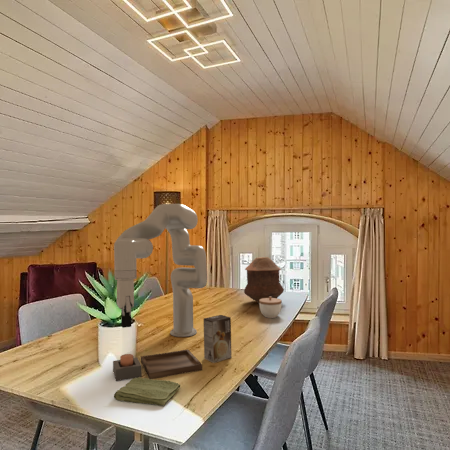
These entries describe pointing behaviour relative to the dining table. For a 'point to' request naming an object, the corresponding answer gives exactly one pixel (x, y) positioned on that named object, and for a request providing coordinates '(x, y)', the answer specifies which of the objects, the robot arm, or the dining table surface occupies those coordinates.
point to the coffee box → (217, 338)
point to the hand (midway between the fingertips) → (126, 326)
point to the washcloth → (147, 391)
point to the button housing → (127, 370)
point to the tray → (170, 364)
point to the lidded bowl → (270, 307)
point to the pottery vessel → (263, 279)
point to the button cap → (126, 360)
